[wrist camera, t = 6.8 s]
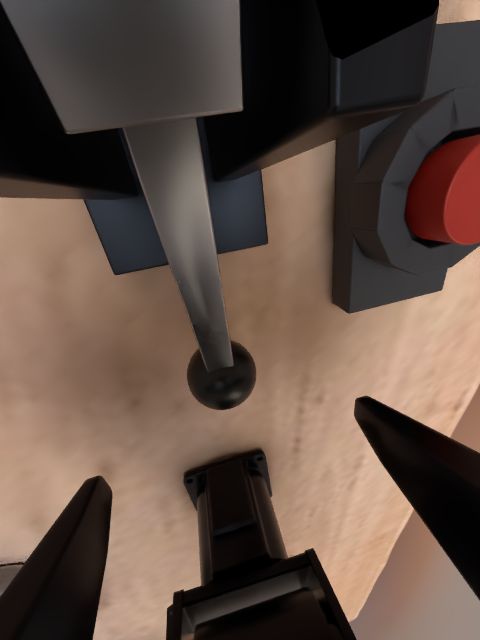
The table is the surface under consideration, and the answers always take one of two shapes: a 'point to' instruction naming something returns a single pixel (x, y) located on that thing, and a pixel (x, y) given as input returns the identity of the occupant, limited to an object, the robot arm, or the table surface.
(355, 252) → the button block
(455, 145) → the red push button
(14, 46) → the lever bracket
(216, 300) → the lever handle
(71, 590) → the robot arm
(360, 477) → the table surface
